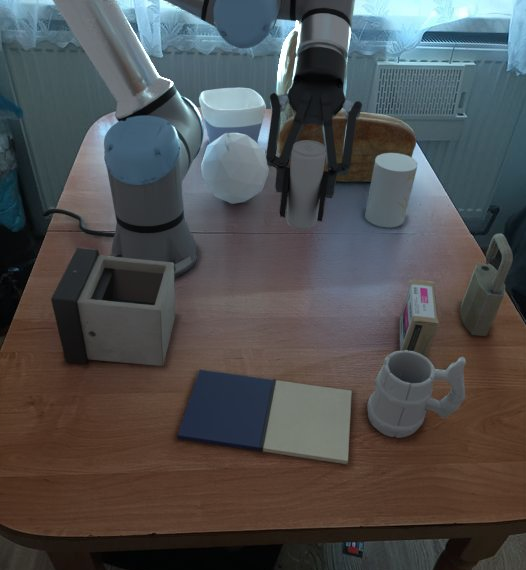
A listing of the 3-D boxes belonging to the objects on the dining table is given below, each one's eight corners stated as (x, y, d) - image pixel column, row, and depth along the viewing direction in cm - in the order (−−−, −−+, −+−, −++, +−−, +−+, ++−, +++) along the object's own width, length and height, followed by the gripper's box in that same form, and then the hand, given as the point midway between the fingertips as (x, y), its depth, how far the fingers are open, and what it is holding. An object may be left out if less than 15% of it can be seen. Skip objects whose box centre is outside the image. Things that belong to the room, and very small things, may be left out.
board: (177, 438, 70) (177, 434, 69) (199, 373, 79) (199, 368, 78) (347, 464, 68) (348, 460, 67) (350, 394, 77) (351, 390, 76)
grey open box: (163, 372, 79) (159, 308, 71) (65, 363, 79) (50, 298, 70) (175, 318, 88) (174, 256, 80) (87, 310, 88) (76, 246, 79)
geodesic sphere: (264, 200, 104) (270, 123, 102) (190, 194, 105) (196, 117, 103) (267, 211, 119) (273, 144, 117) (203, 206, 119) (208, 139, 118)
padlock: (480, 304, 93) (511, 228, 82) (491, 336, 87) (526, 258, 76) (456, 303, 93) (485, 226, 82) (466, 334, 87) (498, 256, 76)
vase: (268, 125, 146) (273, 9, 127) (329, 123, 148) (343, 9, 130) (281, 152, 133) (288, 29, 115) (347, 149, 136) (365, 28, 117)
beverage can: (291, 232, 81) (298, 155, 73) (281, 216, 84) (287, 141, 76) (321, 229, 82) (331, 153, 74) (310, 213, 86) (319, 138, 77)
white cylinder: (403, 229, 109) (417, 173, 101) (363, 224, 110) (374, 168, 102) (404, 210, 115) (417, 155, 107) (366, 205, 116) (376, 150, 108)
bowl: (195, 134, 139) (193, 89, 132) (252, 129, 143) (253, 85, 135) (209, 160, 129) (208, 112, 121) (270, 154, 133) (273, 107, 125)
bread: (411, 187, 123) (426, 128, 113) (276, 184, 122) (279, 123, 112) (401, 163, 131) (413, 106, 122) (274, 160, 130) (277, 102, 121)
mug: (363, 393, 77) (379, 331, 68) (447, 401, 76) (473, 339, 68) (366, 437, 71) (383, 374, 63) (456, 445, 71) (486, 383, 62)
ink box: (398, 319, 89) (410, 277, 83) (422, 322, 89) (435, 281, 83) (399, 362, 82) (412, 320, 76) (424, 365, 81) (439, 323, 76)
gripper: (378, 78, 82) (359, 229, 82) (262, 67, 83) (243, 216, 83) (387, 49, 74) (365, 216, 74) (259, 38, 76) (237, 202, 75)
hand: (301, 216), depth 78 cm, fingers closed on beverage can, 5 cm apart
